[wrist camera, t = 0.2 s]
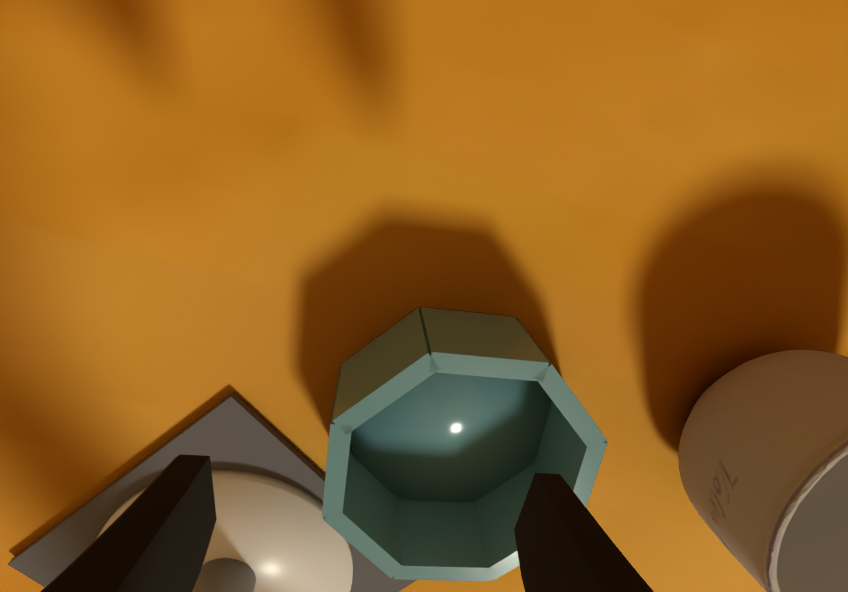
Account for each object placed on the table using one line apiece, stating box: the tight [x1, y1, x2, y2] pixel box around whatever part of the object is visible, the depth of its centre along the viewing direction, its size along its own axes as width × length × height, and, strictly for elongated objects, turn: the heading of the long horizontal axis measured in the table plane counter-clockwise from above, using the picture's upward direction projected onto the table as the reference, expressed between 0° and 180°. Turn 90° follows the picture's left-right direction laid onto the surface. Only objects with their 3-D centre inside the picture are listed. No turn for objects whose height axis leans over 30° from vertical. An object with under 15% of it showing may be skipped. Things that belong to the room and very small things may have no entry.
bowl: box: [322, 307, 607, 581], centre depth 20 cm, size 11×11×4 cm
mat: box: [8, 392, 416, 592], centre depth 24 cm, size 15×15×1 cm
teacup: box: [678, 350, 848, 592], centre depth 20 cm, size 14×11×8 cm
